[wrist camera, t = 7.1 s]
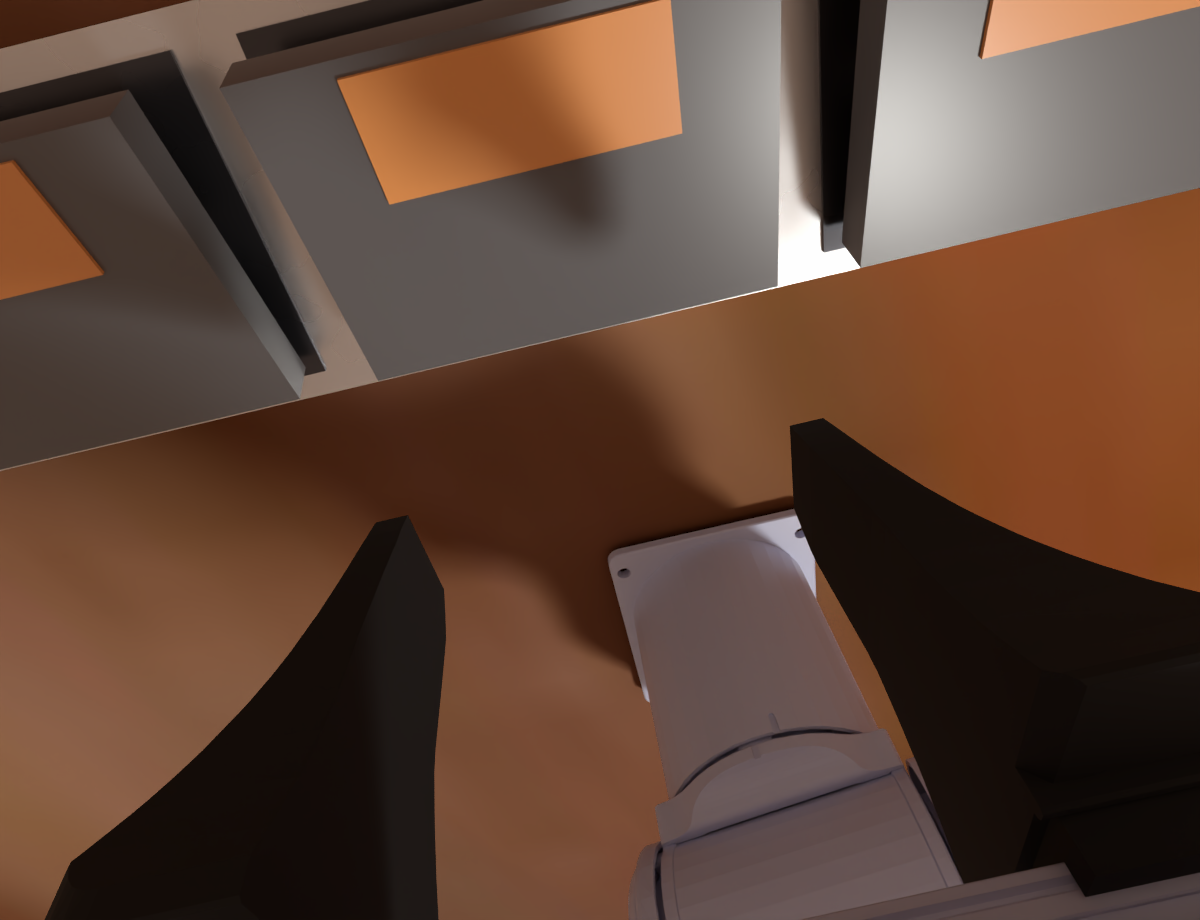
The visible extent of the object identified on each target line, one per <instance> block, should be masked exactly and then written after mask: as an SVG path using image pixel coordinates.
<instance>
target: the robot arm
mask: <svg viewBox="0 0 1200 920" xmlns="http://www.w3.org/2000/svg"><path fill="white" fill-rule="evenodd" d="M790 436H791V457H792V477H793V498H794V509H791V510H787V511H782V512H778V513H773V514H769V515H765V516H760V517H756V518H752V519H747V520H743V521H738V522H734V523H730V524H725V525H721V526H716V527H712V528H708V529H703V530H699V531H694V532H690V533H686V534H681V535H677V536H673V537H668V538H664V539H659V540H655V541H651V542H646V543H642V544H637V545H633V546H629V547H624V548H620V549H617V550H614V551H612V552H611V553H610V554H609V556H608V564H609V569H610V572H611V576H612V580H613V583H614V587H615V591H616V594H617V598H618V602H619V605H620V609H621V613H622V616H623V620H624V624H625V627H626V631H627V635H628V638H629V642H630V646H631V649H632V653H633V657H634V660H635V664H636V668H637V671H638V675H639V679H640V682H641V686H642V690H643V693H644V697H645V699H646V700H647V701H649V702H650V705H651V710H652V715H653V720H654V726H655V731H656V736H657V741H658V746H659V751H660V756H661V761H662V766H663V771H664V776H665V781H666V786H667V792H668V797H669V800H668V801H666V802H663V803H661V804H658V805H657V806H656V807H655V811H656V817H657V822H658V828H659V834H660V840H661V841H660V842H657V843H654V844H650V845H647V846H646V847H644V849H643V850H642V851H641V853H640V855H639V858H638V861H637V866H636V869H635V872H634V874H633V876H632V879H631V883H630V888H629V899H628V911H629V920H1200V592H1196V591H1192V590H1188V589H1184V588H1180V587H1176V586H1172V585H1168V584H1164V583H1160V582H1156V581H1152V580H1149V579H1145V578H1142V577H1138V576H1135V575H1132V574H1129V573H1125V572H1122V571H1119V570H1116V569H1112V568H1109V567H1106V566H1102V565H1099V564H1097V563H1094V562H1091V561H1088V560H1085V559H1082V558H1079V557H1076V556H1073V555H1070V554H1068V553H1065V552H1063V551H1060V550H1057V549H1055V548H1052V547H1049V546H1047V545H1044V544H1042V543H1039V542H1036V541H1034V540H1031V539H1029V538H1027V537H1024V536H1022V535H1019V534H1017V533H1015V532H1012V531H1010V530H1008V529H1006V528H1004V527H1002V526H999V525H997V524H995V523H993V522H991V521H989V520H987V519H984V518H982V517H980V516H978V515H976V514H974V513H972V512H970V511H968V510H966V509H964V508H962V507H960V506H958V505H956V504H955V503H953V502H951V501H949V500H947V499H946V498H944V497H942V496H940V495H939V494H937V493H935V492H933V491H931V490H930V489H928V488H926V487H924V486H923V485H921V484H920V483H918V482H916V481H915V480H913V479H912V478H910V477H908V476H907V475H905V474H904V473H902V472H901V471H899V470H898V469H896V468H894V467H893V466H891V465H890V464H888V463H887V462H885V461H884V460H882V459H881V458H879V457H878V456H876V455H875V454H873V453H872V452H871V451H869V450H868V449H866V448H865V447H863V446H862V445H860V444H859V443H858V442H856V441H855V440H853V439H852V438H851V437H849V436H848V435H846V434H845V433H844V432H842V431H841V430H839V429H838V428H836V427H835V426H834V425H832V424H831V423H829V422H828V421H826V420H825V419H823V418H822V419H817V420H813V421H809V422H804V423H800V424H796V425H792V426H790ZM800 528H802V530H801V531H798V532H796V531H797V530H798V529H800ZM815 560H816V562H817V564H818V565H819V567H820V569H821V571H822V572H823V574H824V576H825V578H826V580H827V581H828V583H829V585H830V587H831V589H832V590H833V592H834V594H835V596H836V597H837V599H838V601H839V603H840V604H841V606H842V608H843V610H844V611H845V613H846V615H847V617H848V618H849V620H850V622H851V624H852V625H853V627H854V629H855V631H856V632H857V634H858V636H859V638H860V639H861V641H862V643H863V645H864V646H865V648H866V650H867V652H868V654H869V656H870V658H871V660H872V662H873V664H874V666H875V668H876V669H877V671H878V674H879V676H880V678H881V680H882V683H883V685H884V687H885V690H886V692H887V694H888V696H889V699H890V701H891V703H892V706H893V708H894V710H895V712H896V715H897V717H898V719H899V722H900V724H901V726H902V729H903V731H904V734H905V736H906V738H907V741H908V743H909V746H910V748H911V750H912V753H913V755H914V757H912V758H910V759H907V760H906V765H907V770H908V772H909V775H910V776H909V775H908V773H907V772H906V770H905V768H904V765H903V763H902V761H901V759H900V757H899V755H898V753H897V751H896V749H895V747H894V745H893V743H892V741H891V739H890V736H889V734H888V732H887V730H886V729H878V727H877V725H876V723H875V721H874V719H873V717H872V715H871V712H870V710H869V708H868V706H867V704H866V702H865V700H864V698H863V696H862V694H861V692H860V690H859V687H858V685H857V683H856V681H855V679H854V677H853V675H852V673H851V671H850V669H849V667H848V665H847V662H846V660H845V658H844V656H843V654H842V652H841V650H840V648H839V646H838V644H837V642H836V639H835V637H834V635H833V633H832V631H831V629H830V627H829V625H828V623H827V621H826V619H825V617H824V614H823V612H822V610H821V608H820V606H819V604H818V602H817V600H816V580H815ZM624 568H627V570H625V571H619V570H621V569H624ZM445 643H446V624H445V601H444V589H443V587H442V585H441V583H440V581H439V578H438V576H437V574H436V572H435V570H434V568H433V566H432V564H431V562H430V560H429V558H428V556H427V554H426V552H425V550H424V548H423V546H422V544H421V541H420V539H419V537H418V535H417V533H416V531H415V529H414V527H413V525H412V523H411V521H410V519H409V517H408V515H407V516H402V517H398V518H394V519H389V520H385V521H381V522H377V523H375V525H374V527H373V528H372V530H371V531H370V533H369V534H368V536H367V538H366V539H365V541H364V542H363V544H362V545H361V547H360V549H359V550H358V552H357V553H356V555H355V557H354V558H353V560H352V562H351V563H350V565H349V566H348V568H347V570H346V571H345V573H344V574H343V576H342V578H341V579H340V581H339V582H338V584H337V586H336V587H335V589H334V590H333V592H332V593H331V595H330V596H329V598H328V599H327V601H326V602H325V604H324V606H323V607H322V609H321V610H320V612H319V613H318V614H317V616H316V617H315V619H314V620H313V621H312V623H311V624H310V626H309V627H308V628H307V630H306V631H305V633H304V634H303V635H302V637H301V638H300V640H299V641H298V642H297V644H296V645H295V647H294V648H293V649H292V651H291V652H290V653H289V655H288V656H287V657H286V659H285V660H284V661H283V662H282V664H281V665H280V666H279V667H278V669H277V670H276V671H275V672H274V674H273V675H272V676H271V677H270V678H269V680H268V681H267V682H266V683H265V684H264V685H263V687H262V688H261V689H260V690H259V691H258V692H257V694H256V695H255V696H254V697H253V698H252V699H251V701H250V702H249V703H248V704H247V705H246V706H245V707H244V708H243V709H242V710H241V711H240V713H239V714H238V715H237V716H236V717H235V718H234V719H233V720H232V721H231V722H230V723H229V724H228V725H227V726H226V727H225V728H224V729H223V730H222V731H221V732H220V733H219V734H218V735H217V736H216V737H215V738H214V739H213V740H212V741H211V742H210V743H209V745H208V746H207V747H206V748H205V749H204V750H203V751H202V752H201V753H200V754H199V755H197V756H196V757H195V758H194V759H193V760H192V761H191V762H190V763H189V764H188V765H187V766H186V767H185V768H184V769H183V770H181V771H180V772H179V773H178V774H177V775H176V776H175V777H174V778H173V779H172V780H170V781H169V782H168V783H167V784H166V785H165V786H164V787H163V788H161V789H160V790H159V791H158V792H157V793H156V794H155V795H154V796H152V797H151V798H150V799H149V800H148V801H147V802H145V803H144V804H143V805H142V806H141V807H140V808H138V809H137V810H136V811H135V812H134V813H132V814H131V815H130V816H129V817H127V818H126V819H125V820H124V821H122V822H121V823H120V824H119V825H117V826H116V827H115V828H114V829H112V830H111V831H110V832H109V833H107V834H106V835H105V836H104V837H102V838H101V839H100V840H99V841H97V842H96V843H95V844H94V845H92V846H91V847H90V848H89V849H87V850H86V851H85V852H83V853H82V854H81V855H79V856H78V857H77V858H76V859H74V860H73V861H72V862H71V863H70V865H69V867H68V869H67V871H66V873H65V876H64V878H63V880H62V882H61V884H60V887H59V889H58V891H57V893H56V896H55V898H54V900H53V902H52V905H51V907H50V909H49V911H48V914H47V916H46V918H45V920H438V903H437V884H436V855H435V813H434V766H435V748H436V737H437V727H438V717H439V707H440V697H441V687H442V677H443V666H444V655H445Z"/></svg>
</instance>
